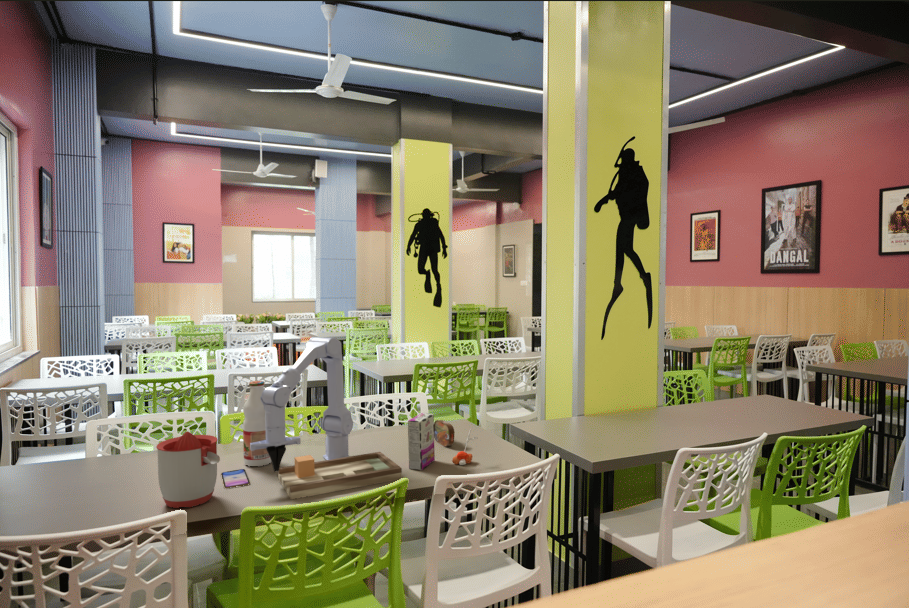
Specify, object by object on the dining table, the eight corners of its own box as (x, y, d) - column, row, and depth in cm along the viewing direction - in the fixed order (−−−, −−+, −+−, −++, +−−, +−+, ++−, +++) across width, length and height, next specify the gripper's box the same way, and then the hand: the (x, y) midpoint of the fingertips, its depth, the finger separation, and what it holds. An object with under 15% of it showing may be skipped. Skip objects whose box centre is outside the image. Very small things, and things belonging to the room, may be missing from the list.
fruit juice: (264, 468, 185) (262, 384, 183) (238, 466, 186) (236, 384, 185) (277, 459, 194) (276, 379, 193) (252, 457, 195) (250, 379, 194)
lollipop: (481, 464, 187) (481, 429, 186) (454, 467, 184) (454, 431, 184) (475, 459, 193) (475, 425, 192) (449, 461, 190) (449, 427, 189)
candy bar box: (421, 459, 193) (421, 412, 192) (435, 460, 191) (434, 413, 190) (407, 469, 182) (407, 420, 182) (421, 471, 181) (421, 421, 180)
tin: (432, 439, 218) (432, 417, 217) (439, 438, 219) (439, 417, 219) (448, 449, 204) (448, 426, 204) (456, 448, 205) (455, 425, 205)
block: (294, 473, 174) (294, 457, 173) (310, 470, 176) (310, 454, 176) (298, 478, 169) (298, 461, 169) (314, 475, 172) (314, 459, 171)
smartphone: (224, 490, 166) (223, 486, 166) (220, 475, 179) (220, 471, 179) (250, 486, 169) (250, 482, 169) (245, 471, 183) (245, 468, 183)
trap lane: (278, 478, 174) (278, 467, 174) (380, 461, 190) (380, 451, 190) (290, 499, 157) (290, 487, 157) (401, 478, 173) (401, 467, 173)
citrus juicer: (197, 516, 147) (195, 441, 146) (144, 509, 152) (142, 437, 151) (235, 494, 162) (234, 426, 161) (186, 488, 167) (184, 422, 166)
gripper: (252, 432, 161) (253, 478, 161) (302, 426, 168) (303, 470, 168) (248, 426, 167) (249, 471, 168) (297, 421, 174) (298, 463, 175)
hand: (276, 470), depth 168 cm, fingers closed
